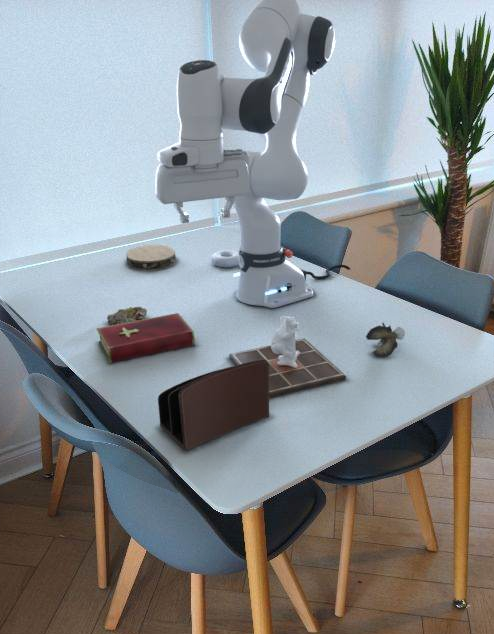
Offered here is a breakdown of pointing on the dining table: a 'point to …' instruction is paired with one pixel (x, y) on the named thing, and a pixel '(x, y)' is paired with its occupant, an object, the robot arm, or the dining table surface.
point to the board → (290, 379)
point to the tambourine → (150, 257)
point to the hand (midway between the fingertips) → (205, 219)
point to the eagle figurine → (385, 339)
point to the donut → (226, 258)
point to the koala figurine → (286, 342)
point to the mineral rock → (127, 315)
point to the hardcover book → (145, 337)
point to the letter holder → (215, 403)
